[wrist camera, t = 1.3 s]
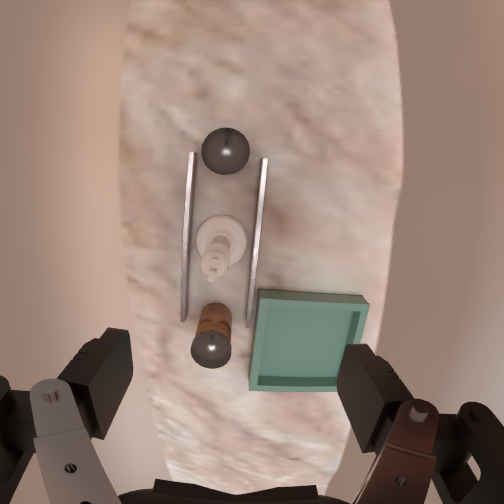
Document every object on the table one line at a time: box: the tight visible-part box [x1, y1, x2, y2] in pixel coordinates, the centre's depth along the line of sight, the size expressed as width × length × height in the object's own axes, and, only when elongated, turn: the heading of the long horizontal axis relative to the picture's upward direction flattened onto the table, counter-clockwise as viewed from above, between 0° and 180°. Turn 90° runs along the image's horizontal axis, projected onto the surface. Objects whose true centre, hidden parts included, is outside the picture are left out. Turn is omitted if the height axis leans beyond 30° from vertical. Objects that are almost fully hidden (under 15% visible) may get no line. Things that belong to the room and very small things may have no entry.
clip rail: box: [181, 128, 268, 369], centre depth 27 cm, size 19×7×7 cm, turn 174°
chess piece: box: [196, 215, 248, 283], centre depth 25 cm, size 5×5×10 cm
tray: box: [248, 289, 370, 392], centre depth 32 cm, size 11×11×2 cm
